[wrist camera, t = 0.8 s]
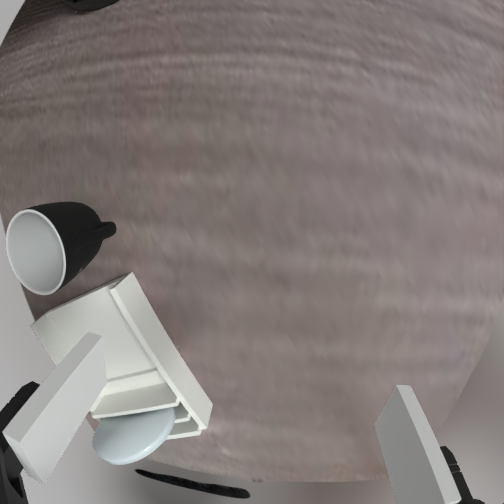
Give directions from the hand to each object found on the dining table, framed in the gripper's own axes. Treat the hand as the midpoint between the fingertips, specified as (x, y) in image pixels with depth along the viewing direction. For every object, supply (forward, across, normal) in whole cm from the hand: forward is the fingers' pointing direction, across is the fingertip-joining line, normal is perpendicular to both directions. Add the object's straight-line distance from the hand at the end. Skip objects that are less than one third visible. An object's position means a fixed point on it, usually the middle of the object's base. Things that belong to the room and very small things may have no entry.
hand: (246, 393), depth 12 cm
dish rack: (+23, -16, -20) cm, 34 cm away
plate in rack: (+23, -12, -25) cm, 36 cm away
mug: (+23, -21, -2) cm, 31 cm away
